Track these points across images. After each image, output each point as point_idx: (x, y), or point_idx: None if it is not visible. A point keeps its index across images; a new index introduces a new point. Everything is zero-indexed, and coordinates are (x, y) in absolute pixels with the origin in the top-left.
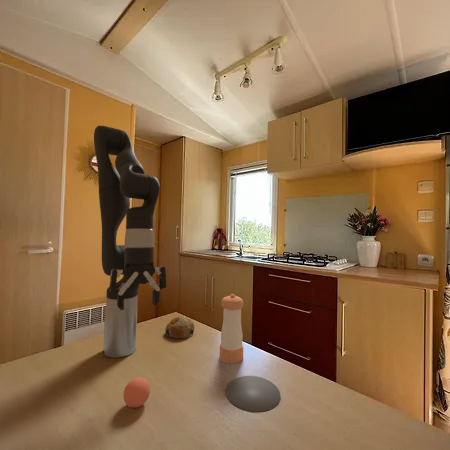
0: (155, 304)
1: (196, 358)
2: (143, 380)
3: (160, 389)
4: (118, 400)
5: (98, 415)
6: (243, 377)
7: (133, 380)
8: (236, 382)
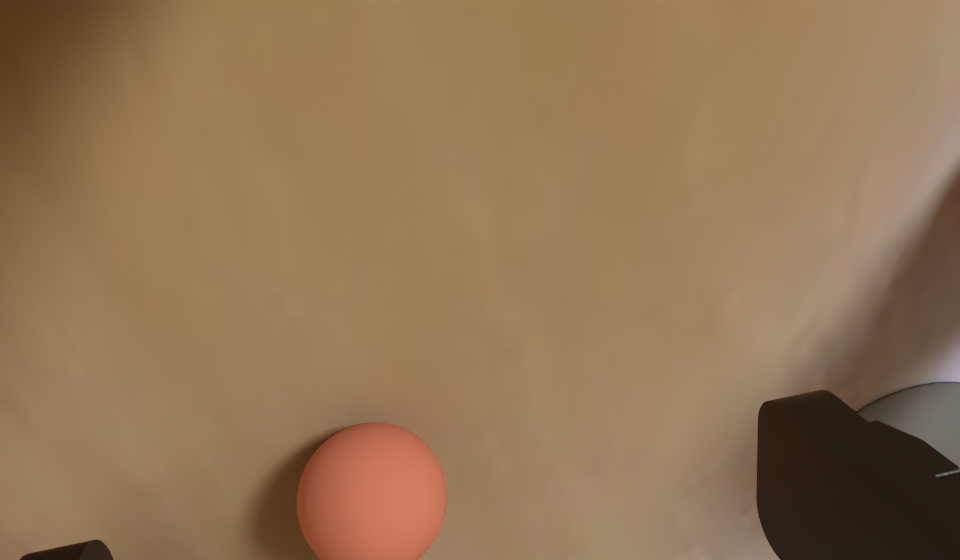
0: (786, 540)
1: (850, 79)
2: (412, 546)
3: (509, 364)
4: (270, 395)
5: (178, 477)
6: (948, 394)
7: (352, 551)
8: (890, 424)
